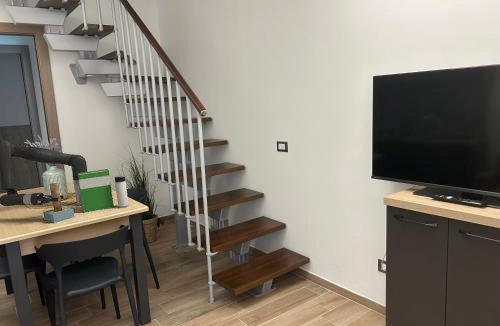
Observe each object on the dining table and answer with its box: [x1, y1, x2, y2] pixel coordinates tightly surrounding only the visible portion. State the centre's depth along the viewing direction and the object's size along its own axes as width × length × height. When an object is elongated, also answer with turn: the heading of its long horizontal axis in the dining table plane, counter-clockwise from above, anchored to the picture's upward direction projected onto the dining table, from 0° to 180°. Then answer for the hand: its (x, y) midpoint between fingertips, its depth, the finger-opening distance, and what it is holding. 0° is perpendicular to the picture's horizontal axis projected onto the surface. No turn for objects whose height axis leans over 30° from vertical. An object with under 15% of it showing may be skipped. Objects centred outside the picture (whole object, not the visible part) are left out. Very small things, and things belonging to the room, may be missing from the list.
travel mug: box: [114, 176, 130, 209], centre depth 236 cm, size 6×7×20 cm
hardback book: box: [78, 168, 115, 214], centre depth 235 cm, size 18×7×24 cm, turn 116°
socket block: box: [43, 205, 75, 224], centre depth 221 cm, size 12×12×5 cm
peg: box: [49, 182, 63, 212], centre depth 220 cm, size 4×4×20 cm
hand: (60, 198), depth 219 cm, fingers closed on peg, 4 cm apart
